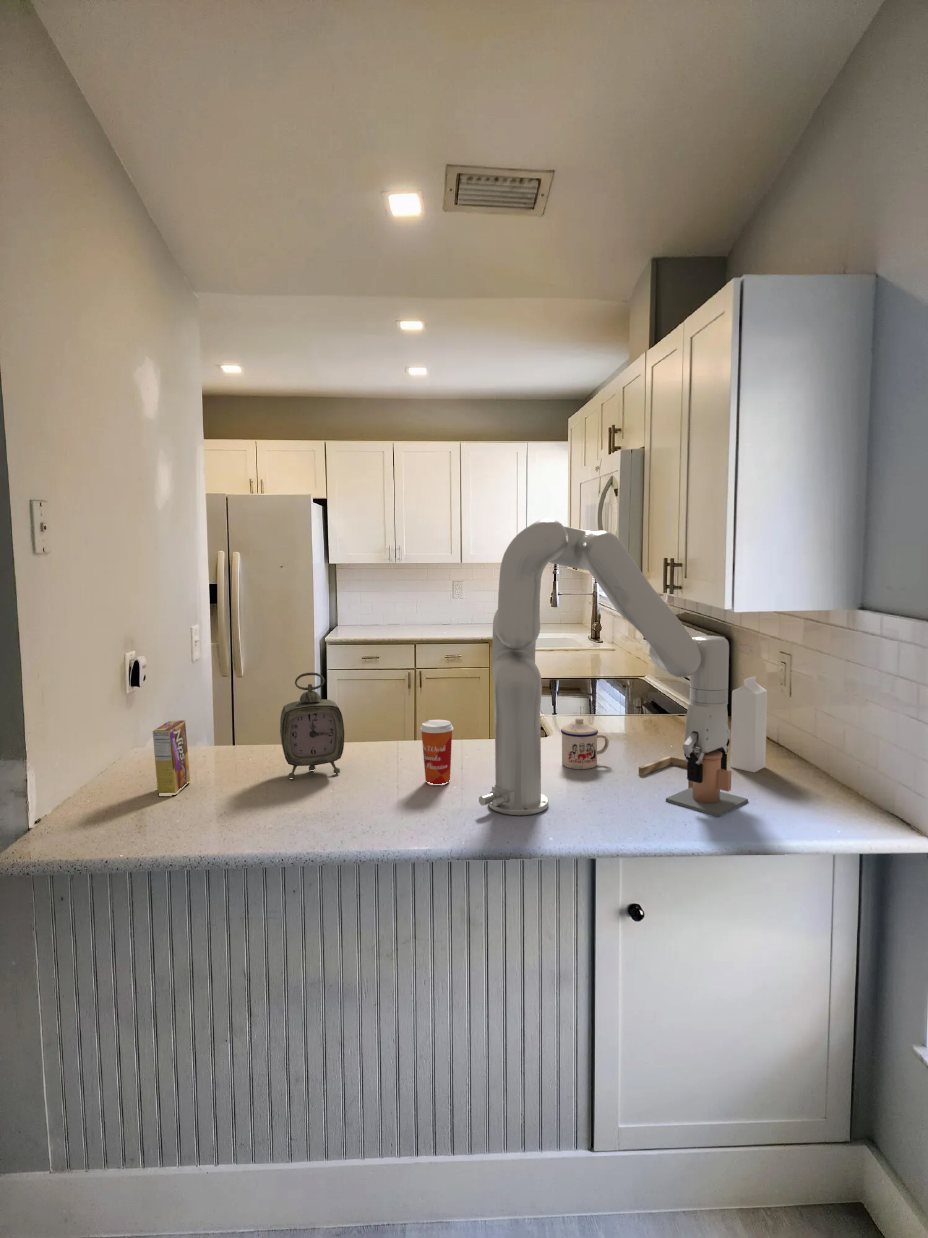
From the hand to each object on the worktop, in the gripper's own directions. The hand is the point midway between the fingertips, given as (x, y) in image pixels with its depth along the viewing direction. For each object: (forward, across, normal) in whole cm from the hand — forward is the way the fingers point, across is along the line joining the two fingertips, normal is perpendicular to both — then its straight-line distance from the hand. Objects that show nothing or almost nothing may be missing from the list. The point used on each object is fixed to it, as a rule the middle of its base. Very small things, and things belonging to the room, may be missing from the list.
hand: (707, 776), depth 145 cm
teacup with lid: (+6, -2, -34) cm, 35 cm away
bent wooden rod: (+6, -11, -13) cm, 18 cm away
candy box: (+6, +80, -87) cm, 118 cm away
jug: (+5, 0, +1) cm, 5 cm away
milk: (+6, -28, -5) cm, 29 cm away
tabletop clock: (+6, +51, -75) cm, 91 cm away
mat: (+6, 0, 0) cm, 6 cm away
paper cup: (+6, +33, -49) cm, 59 cm away
